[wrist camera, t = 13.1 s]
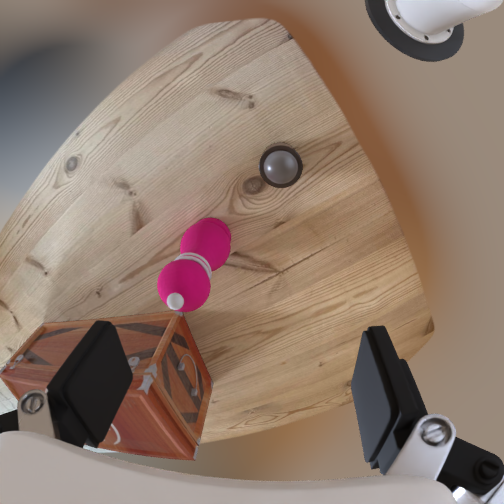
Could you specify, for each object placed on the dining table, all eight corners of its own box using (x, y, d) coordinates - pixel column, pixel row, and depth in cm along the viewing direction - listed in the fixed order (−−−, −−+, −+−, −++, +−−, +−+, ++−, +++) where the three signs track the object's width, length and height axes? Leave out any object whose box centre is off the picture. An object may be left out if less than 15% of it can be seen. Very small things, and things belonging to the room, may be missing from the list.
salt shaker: (261, 142, 42) (256, 147, 32) (297, 142, 41) (304, 146, 32) (262, 177, 44) (258, 192, 34) (298, 177, 43) (304, 191, 34)
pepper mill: (201, 263, 50) (162, 340, 32) (181, 224, 48) (127, 286, 29) (241, 248, 48) (220, 324, 30) (222, 207, 46) (185, 264, 28)
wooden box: (41, 321, 60) (-4, 372, 42) (182, 307, 54) (144, 388, 36) (78, 382, 68) (47, 434, 50) (215, 383, 61) (197, 460, 43)
